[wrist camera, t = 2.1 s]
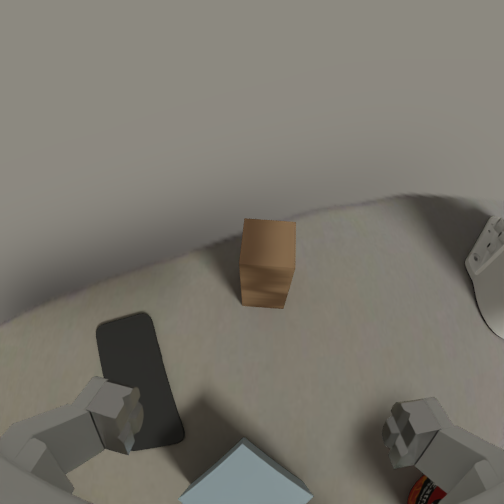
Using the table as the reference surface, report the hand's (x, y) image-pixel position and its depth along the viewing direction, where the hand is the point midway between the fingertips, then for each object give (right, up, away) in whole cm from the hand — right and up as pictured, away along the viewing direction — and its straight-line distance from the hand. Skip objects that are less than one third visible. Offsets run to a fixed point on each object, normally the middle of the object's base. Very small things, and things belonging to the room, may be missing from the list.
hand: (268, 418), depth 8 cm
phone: (-13, -9, +20) cm, 26 cm away
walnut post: (+1, +1, +26) cm, 26 cm away
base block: (-1, -18, +15) cm, 24 cm away
